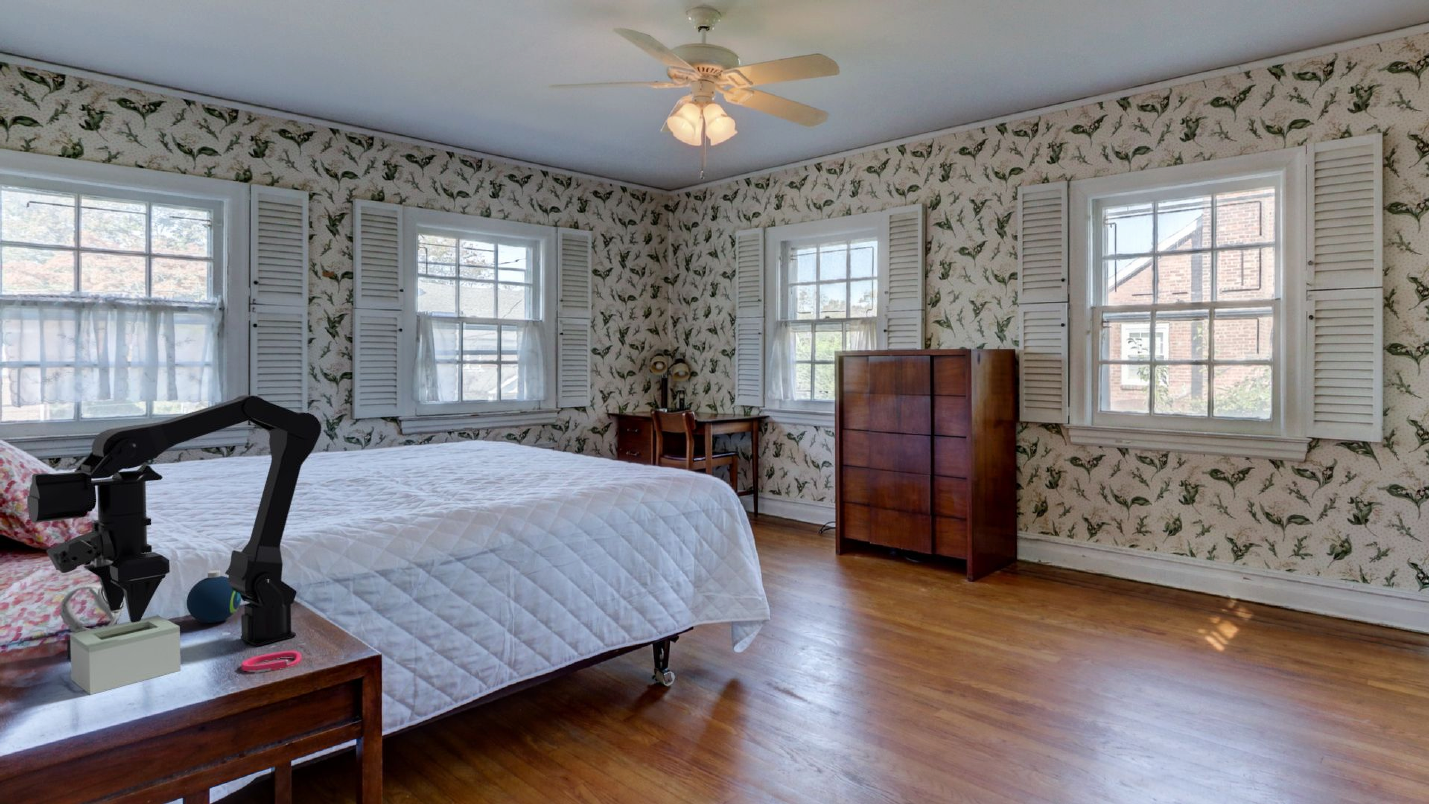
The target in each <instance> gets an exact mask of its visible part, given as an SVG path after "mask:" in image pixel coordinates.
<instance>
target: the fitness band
mask: <svg viewBox="0 0 1429 804" xmlns="http://www.w3.org/2000/svg"><path fill="white" fill-rule="evenodd" d="M281 657H293V658H295V659H294V660H293V661H290V662H289V660H288V659H283V660H282V659H281V660H279V661H278V659H277V658H281ZM293 658H292V659H293ZM273 659H277V661H274V660H273ZM265 660H270V661H272V662H267V663H262V662H261V661H264V662H266V661H265ZM300 661H301V662H302V654H301V652H299V651H298V650H297V651H296V650H285V651H278V652H272V653H271V652H270V653H267V654H262V655H256V656H253V657H250V658H248V659H245V660H244V661H242V662H241V670H242V671H244V672H245V671H246V672H248V671H250V672H251V671H255V672H254V674H260V673H259V672H261V673H264V672H263V671H268V672H273V671H272V670H274V671H276V670H275V669H280V668H285V669H287V668H286V667H288V666H291V665H295V664H297V663H299V662H300ZM258 662H259V663H260V664H258ZM301 662H300V663H301ZM254 663H256V664H254ZM300 663H299V664H300ZM252 664H253V665H252ZM297 665H298V664H297ZM295 666H296V665H295ZM280 670H281V669H280Z"/></svg>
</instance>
